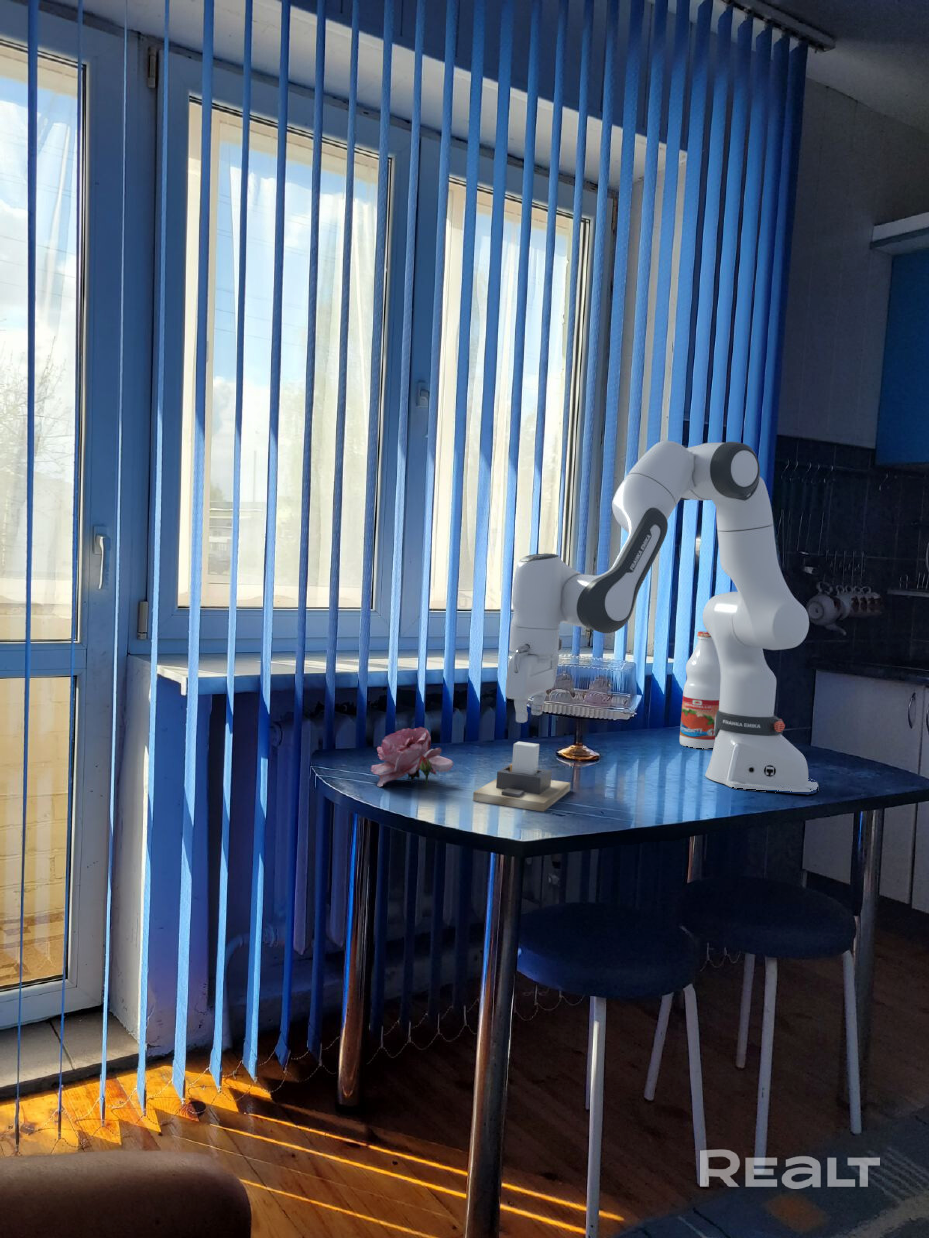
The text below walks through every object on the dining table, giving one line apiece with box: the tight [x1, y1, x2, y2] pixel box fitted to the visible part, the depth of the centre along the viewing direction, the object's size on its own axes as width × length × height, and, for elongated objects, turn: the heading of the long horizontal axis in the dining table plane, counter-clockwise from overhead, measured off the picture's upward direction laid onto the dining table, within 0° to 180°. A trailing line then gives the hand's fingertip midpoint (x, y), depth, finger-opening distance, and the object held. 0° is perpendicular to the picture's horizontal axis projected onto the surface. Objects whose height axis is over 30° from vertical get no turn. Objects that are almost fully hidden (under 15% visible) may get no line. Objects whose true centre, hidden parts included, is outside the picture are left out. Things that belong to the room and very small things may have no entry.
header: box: [496, 764, 552, 795], centre depth 184 cm, size 8×7×3 cm
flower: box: [370, 726, 454, 788], centre depth 187 cm, size 15×15×10 cm
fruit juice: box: [679, 630, 721, 750], centre depth 245 cm, size 9×9×28 cm
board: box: [472, 778, 571, 812], centre depth 184 cm, size 13×18×2 cm
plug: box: [509, 741, 540, 775], centre depth 184 cm, size 5×3×8 cm, turn 69°
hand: (529, 718), depth 183 cm, fingers open, 8 cm apart
